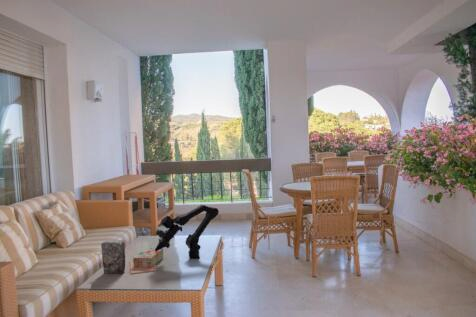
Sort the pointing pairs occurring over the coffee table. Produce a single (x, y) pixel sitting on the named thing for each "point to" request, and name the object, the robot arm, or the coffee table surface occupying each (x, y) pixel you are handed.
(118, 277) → the coffee table surface
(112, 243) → the stone block
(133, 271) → the mat
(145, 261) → the stack of blocks
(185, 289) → the coffee table surface
